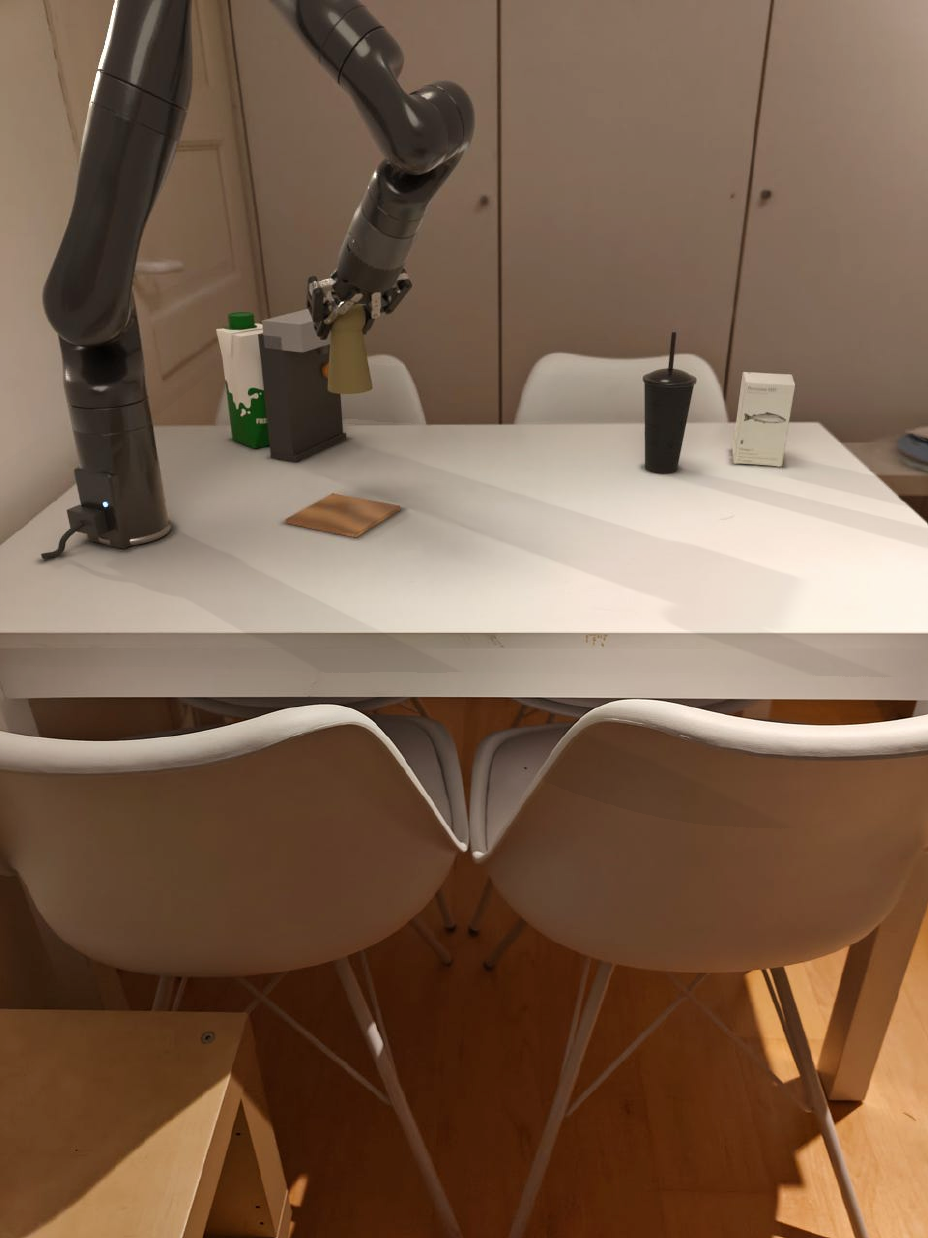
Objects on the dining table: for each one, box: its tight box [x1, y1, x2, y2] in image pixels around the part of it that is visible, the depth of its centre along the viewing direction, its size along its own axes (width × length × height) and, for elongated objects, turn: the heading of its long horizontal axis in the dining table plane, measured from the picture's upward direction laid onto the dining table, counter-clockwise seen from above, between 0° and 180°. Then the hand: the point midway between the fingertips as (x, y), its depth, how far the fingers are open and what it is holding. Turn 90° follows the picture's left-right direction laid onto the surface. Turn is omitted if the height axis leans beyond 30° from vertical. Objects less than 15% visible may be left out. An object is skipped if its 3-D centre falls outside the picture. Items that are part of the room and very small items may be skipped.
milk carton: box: [215, 311, 270, 449], centre depth 150 cm, size 9×9×20 cm
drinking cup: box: [642, 331, 698, 474], centre depth 136 cm, size 8×8×20 cm
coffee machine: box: [258, 308, 347, 463], centre depth 145 cm, size 14×8×21 cm, turn 153°
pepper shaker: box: [328, 302, 373, 395], centre depth 122 cm, size 6×6×11 cm
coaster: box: [284, 492, 401, 538], centre depth 123 cm, size 11×11×1 cm
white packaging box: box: [731, 371, 796, 467], centre depth 141 cm, size 7×7×13 cm
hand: (340, 331), depth 123 cm, fingers closed on pepper shaker, 5 cm apart
